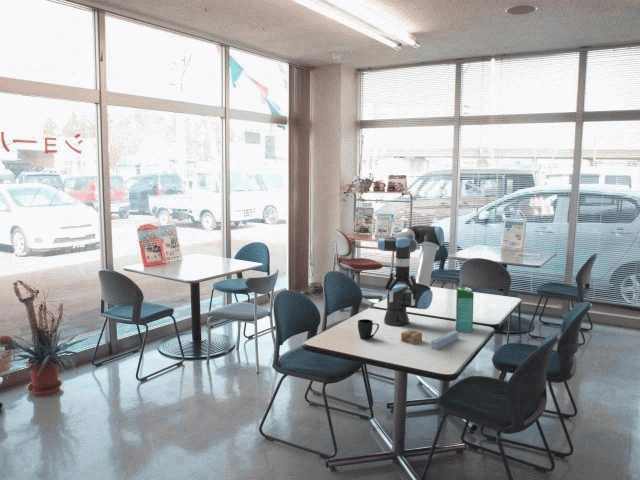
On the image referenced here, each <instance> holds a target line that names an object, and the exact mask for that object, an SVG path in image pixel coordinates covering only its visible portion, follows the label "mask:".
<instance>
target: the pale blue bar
mask: <svg viewBox="0 0 640 480" xmlns="http://www.w3.org/2000/svg"><path fill="white" fill-rule="evenodd" d="M458 339H459V331H456V330H451V331H450V332H447V333H446V334H443V335H442V336H438V337H437V338H436V339H433V340H431V348H430V349H432V350H435V351H437V350H439V349H441V348H443V347H445V346H447V345H449V344H450V343H451V344H452V342H455V341H456V340H458Z"/></svg>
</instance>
